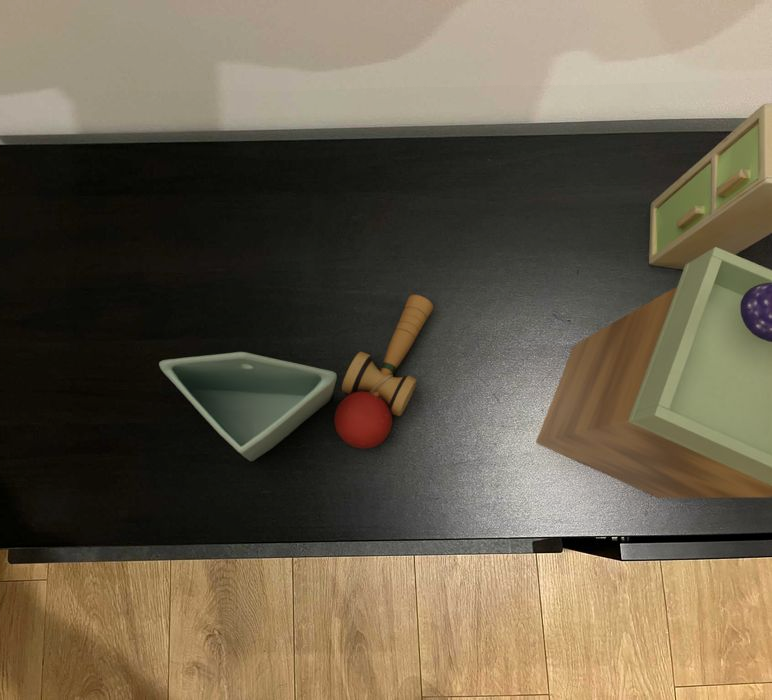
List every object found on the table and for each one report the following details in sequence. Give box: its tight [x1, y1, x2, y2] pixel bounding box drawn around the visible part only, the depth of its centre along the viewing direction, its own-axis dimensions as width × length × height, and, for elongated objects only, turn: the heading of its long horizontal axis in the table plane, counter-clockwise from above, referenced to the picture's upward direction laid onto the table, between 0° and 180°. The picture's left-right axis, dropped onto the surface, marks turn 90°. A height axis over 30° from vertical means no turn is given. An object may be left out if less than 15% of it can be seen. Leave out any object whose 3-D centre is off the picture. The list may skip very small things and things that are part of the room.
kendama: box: [334, 294, 434, 450], centre depth 74 cm, size 8×6×18 cm
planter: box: [158, 351, 338, 462], centre depth 66 cm, size 16×8×20 cm, turn 86°
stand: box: [535, 286, 772, 499], centre depth 64 cm, size 14×12×24 cm
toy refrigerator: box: [648, 103, 772, 271], centre depth 70 cm, size 8×7×21 cm
